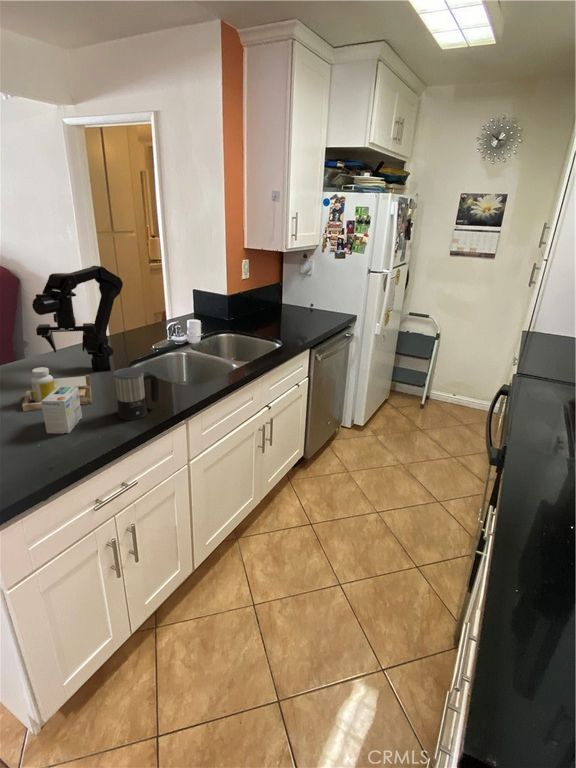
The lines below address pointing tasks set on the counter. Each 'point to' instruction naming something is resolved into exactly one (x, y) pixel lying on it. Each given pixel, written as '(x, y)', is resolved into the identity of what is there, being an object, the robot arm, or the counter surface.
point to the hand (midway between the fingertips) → (69, 351)
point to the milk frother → (134, 392)
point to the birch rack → (38, 405)
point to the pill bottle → (41, 383)
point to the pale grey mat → (70, 382)
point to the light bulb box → (61, 409)
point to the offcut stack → (82, 393)
